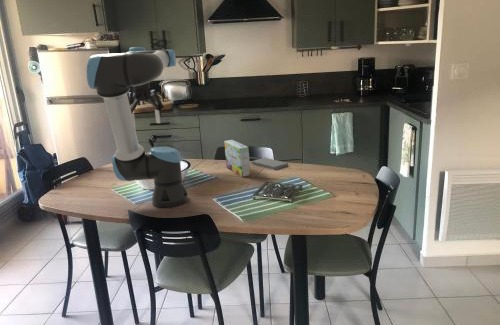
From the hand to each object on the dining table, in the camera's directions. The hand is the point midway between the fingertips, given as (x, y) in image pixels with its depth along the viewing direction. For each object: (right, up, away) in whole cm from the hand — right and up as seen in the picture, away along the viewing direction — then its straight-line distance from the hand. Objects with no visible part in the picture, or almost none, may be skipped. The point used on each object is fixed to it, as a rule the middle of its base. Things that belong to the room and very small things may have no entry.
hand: (146, 125), depth 196 cm
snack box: (+44, -23, +14) cm, 52 cm away
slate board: (+61, -20, +23) cm, 68 cm away
